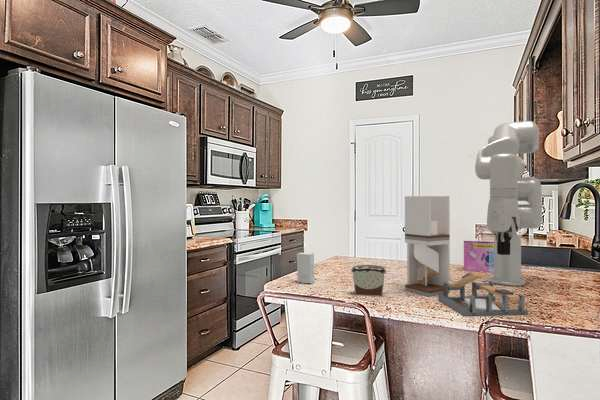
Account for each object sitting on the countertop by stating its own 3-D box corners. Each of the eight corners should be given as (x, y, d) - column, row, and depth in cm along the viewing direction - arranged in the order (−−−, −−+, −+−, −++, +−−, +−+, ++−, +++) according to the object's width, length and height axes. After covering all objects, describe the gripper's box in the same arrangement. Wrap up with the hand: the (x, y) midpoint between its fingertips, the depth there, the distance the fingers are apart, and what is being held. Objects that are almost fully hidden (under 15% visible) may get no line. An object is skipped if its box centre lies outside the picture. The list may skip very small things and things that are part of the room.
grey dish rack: (437, 299, 130) (437, 282, 130) (492, 298, 132) (492, 281, 132) (465, 316, 112) (464, 296, 112) (527, 314, 114) (527, 294, 114)
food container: (386, 292, 141) (386, 265, 141) (386, 296, 135) (386, 267, 135) (352, 290, 144) (352, 263, 144) (351, 294, 138) (350, 266, 138)
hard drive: (464, 297, 129) (471, 307, 117) (490, 299, 127) (501, 309, 115) (464, 302, 129) (471, 313, 117) (490, 304, 127) (501, 314, 115)
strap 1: (447, 290, 130) (445, 284, 131) (459, 290, 131) (458, 284, 132) (472, 278, 114) (470, 270, 115) (486, 277, 114) (484, 270, 115)
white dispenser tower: (405, 290, 145) (404, 196, 144) (425, 286, 150) (424, 196, 150) (429, 296, 135) (429, 196, 135) (449, 292, 140) (449, 196, 140)
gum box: (519, 271, 181) (518, 242, 181) (521, 274, 174) (521, 244, 174) (463, 268, 190) (463, 240, 190) (464, 271, 183) (463, 242, 182)
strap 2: (474, 288, 132) (474, 282, 132) (487, 288, 132) (487, 282, 132) (507, 302, 114) (507, 294, 114) (521, 302, 114) (521, 294, 114)
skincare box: (315, 282, 159) (314, 252, 158) (310, 284, 155) (310, 254, 154) (301, 281, 161) (301, 252, 161) (296, 283, 157) (296, 253, 157)
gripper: (478, 194, 126) (478, 251, 126) (506, 194, 111) (506, 258, 111) (500, 194, 126) (500, 250, 127) (531, 194, 111) (531, 258, 112)
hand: (503, 254), depth 119 cm, fingers closed
